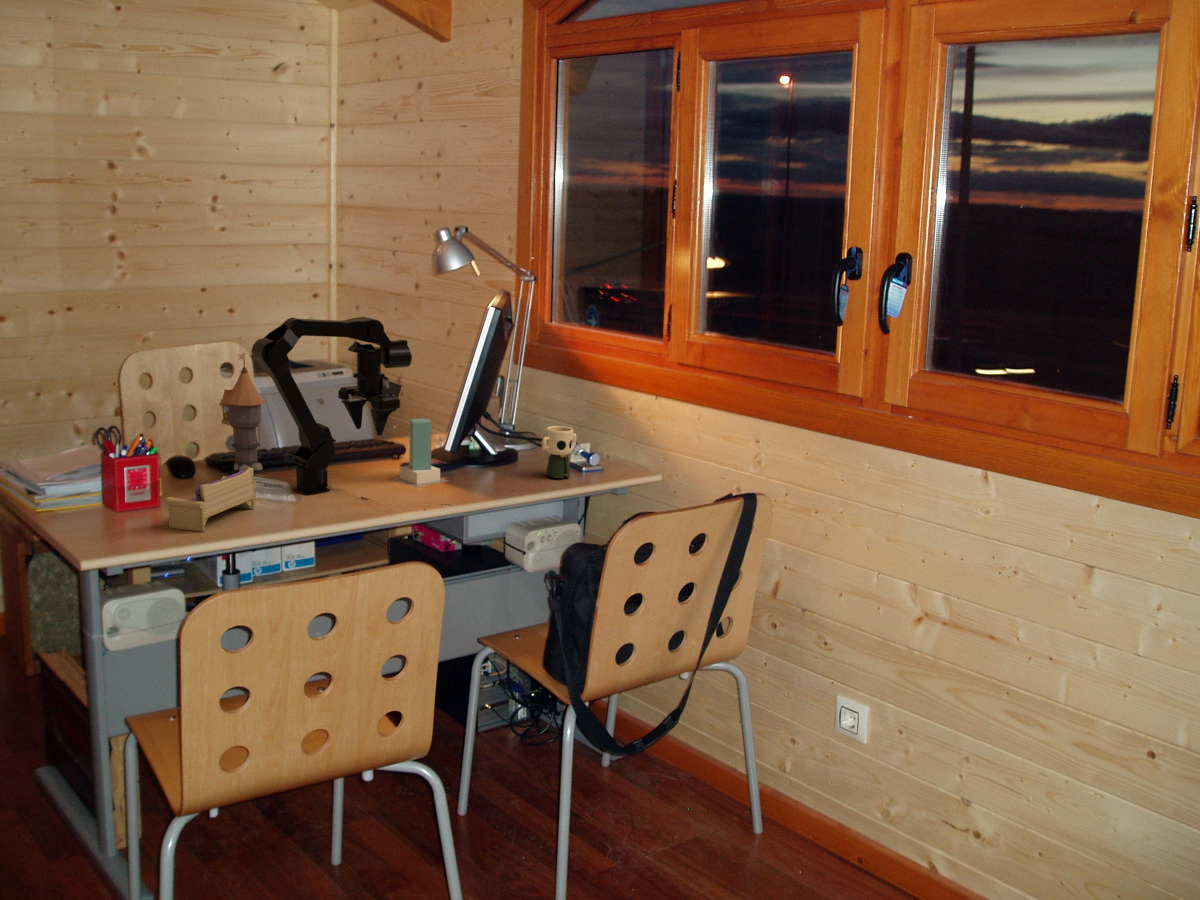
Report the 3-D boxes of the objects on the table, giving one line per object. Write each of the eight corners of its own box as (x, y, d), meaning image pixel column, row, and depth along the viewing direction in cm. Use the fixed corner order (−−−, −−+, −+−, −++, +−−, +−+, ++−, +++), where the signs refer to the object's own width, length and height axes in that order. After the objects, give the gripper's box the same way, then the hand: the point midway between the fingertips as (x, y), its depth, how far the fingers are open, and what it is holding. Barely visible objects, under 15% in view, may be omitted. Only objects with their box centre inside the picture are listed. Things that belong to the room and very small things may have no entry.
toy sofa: (224, 504, 258) (223, 461, 256) (258, 508, 256) (257, 465, 254) (166, 529, 239) (164, 482, 236) (201, 534, 236) (199, 487, 234)
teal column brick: (412, 470, 277) (413, 422, 274) (409, 466, 281) (409, 419, 278) (431, 469, 278) (431, 422, 276) (427, 465, 283) (428, 418, 280)
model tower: (237, 461, 296) (234, 347, 289) (274, 465, 293) (271, 351, 286) (214, 468, 287) (211, 352, 280) (252, 474, 284) (249, 356, 277)
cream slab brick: (417, 484, 276) (417, 472, 275) (400, 478, 280) (400, 467, 280) (440, 480, 281) (440, 468, 280) (423, 474, 285) (423, 463, 285)
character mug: (549, 483, 289) (551, 433, 286) (533, 476, 294) (534, 428, 291) (582, 477, 296) (584, 429, 293) (566, 471, 301) (567, 424, 298)
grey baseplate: (415, 492, 274) (415, 486, 274) (391, 484, 281) (391, 478, 280) (448, 486, 281) (448, 480, 281) (424, 478, 288) (424, 472, 287)
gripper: (418, 372, 273) (418, 435, 277) (375, 361, 286) (375, 421, 290) (379, 376, 266) (380, 440, 269) (336, 365, 278) (337, 426, 282)
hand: (369, 432), depth 278 cm, fingers open, 9 cm apart
